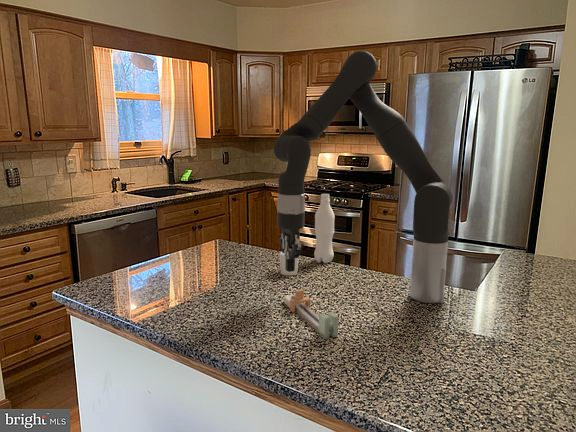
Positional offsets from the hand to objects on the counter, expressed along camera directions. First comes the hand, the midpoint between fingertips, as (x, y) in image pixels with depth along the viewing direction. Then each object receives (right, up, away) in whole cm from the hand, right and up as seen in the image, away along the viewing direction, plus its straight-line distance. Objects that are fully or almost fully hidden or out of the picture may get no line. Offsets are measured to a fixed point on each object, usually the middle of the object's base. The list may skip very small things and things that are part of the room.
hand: (290, 270), depth 119 cm
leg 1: (+5, -11, -12) cm, 17 cm away
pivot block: (+1, -9, -2) cm, 10 cm away
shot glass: (0, -4, +25) cm, 26 cm away
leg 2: (+7, -11, -11) cm, 17 cm away
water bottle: (+13, -2, +38) cm, 40 cm away
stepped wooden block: (+3, -10, -5) cm, 11 cm away
